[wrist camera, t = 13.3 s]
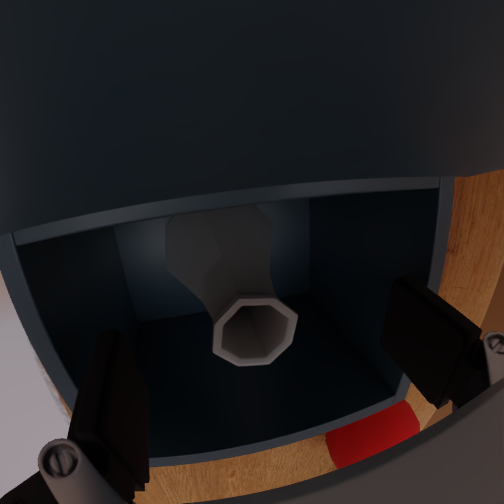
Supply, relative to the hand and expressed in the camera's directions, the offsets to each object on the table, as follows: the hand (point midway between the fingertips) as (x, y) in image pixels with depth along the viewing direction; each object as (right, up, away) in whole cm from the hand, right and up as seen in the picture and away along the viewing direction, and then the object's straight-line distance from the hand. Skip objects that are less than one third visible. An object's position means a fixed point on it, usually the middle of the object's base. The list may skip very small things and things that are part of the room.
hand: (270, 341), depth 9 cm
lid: (+1, +4, -9) cm, 10 cm away
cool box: (-3, +4, +11) cm, 12 cm away
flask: (-3, +4, +10) cm, 11 cm away
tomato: (+12, -17, +23) cm, 31 cm away
